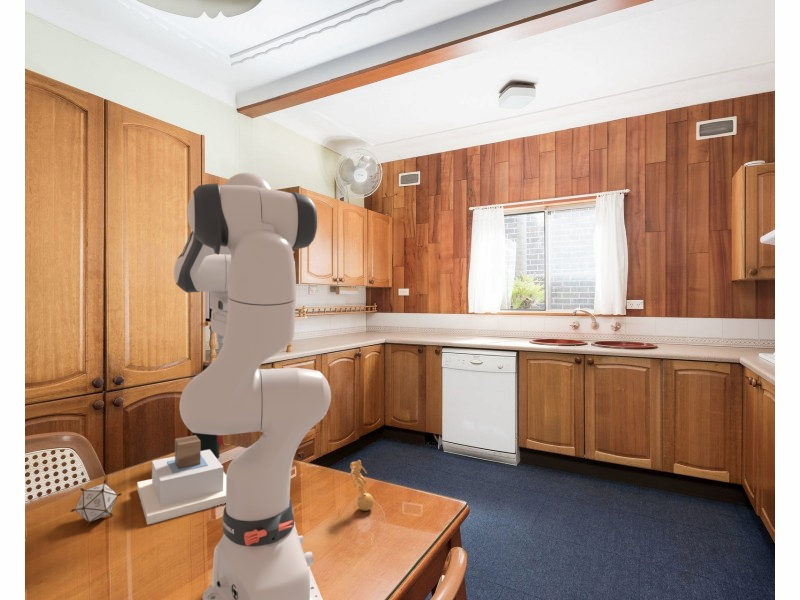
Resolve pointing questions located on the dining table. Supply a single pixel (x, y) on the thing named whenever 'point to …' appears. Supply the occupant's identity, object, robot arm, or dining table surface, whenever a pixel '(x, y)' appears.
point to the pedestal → (182, 488)
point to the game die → (96, 502)
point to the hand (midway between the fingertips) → (226, 351)
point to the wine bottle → (208, 439)
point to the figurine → (361, 487)
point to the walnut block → (187, 451)
